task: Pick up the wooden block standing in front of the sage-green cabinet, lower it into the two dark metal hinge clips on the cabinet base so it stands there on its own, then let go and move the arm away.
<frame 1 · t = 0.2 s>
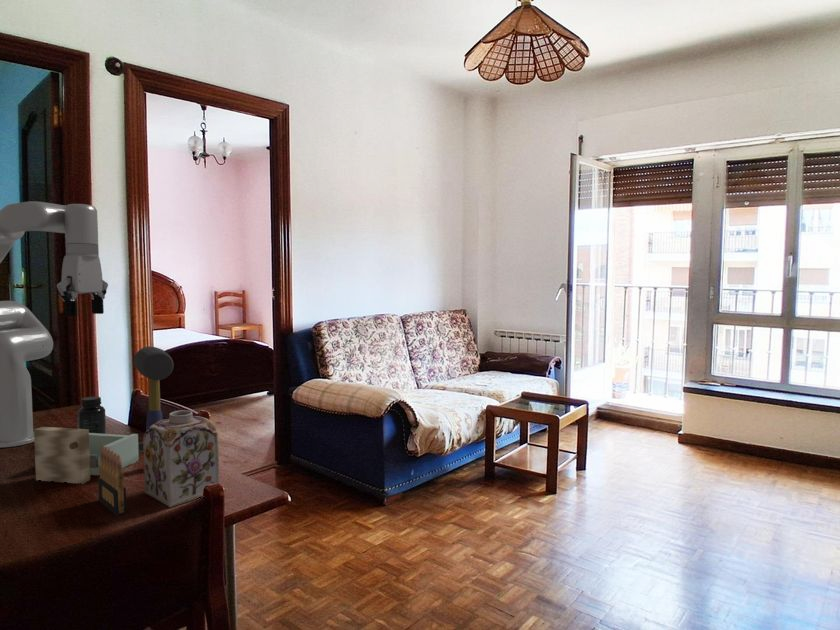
hand: (84, 314, 150), 36 cm above the table, tool pointing down, fingers open, 9 cm apart
supplement bottle: (92, 440, 160), on the table
decorative jar: (182, 494, 122), on the table
phone: (124, 453, 149), on the table
wooden block: (63, 480, 129), on the table
cabinet: (93, 465, 138), on the table
rubber mallet: (155, 468, 137), on the table
ammunition clip: (112, 507, 115), on the table
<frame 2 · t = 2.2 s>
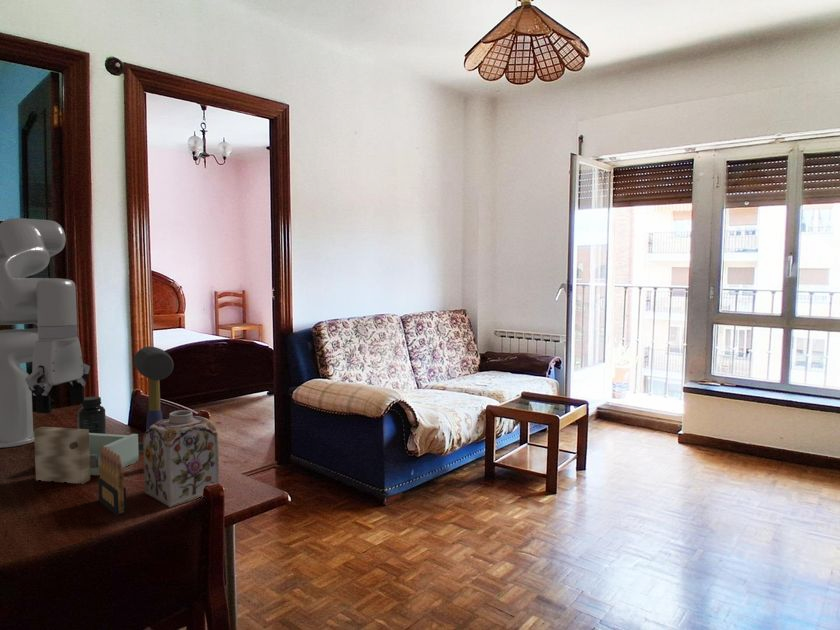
hand: (61, 407, 127), 17 cm above the table, tool pointing down, fingers open, 9 cm apart
nothing on the table moved.
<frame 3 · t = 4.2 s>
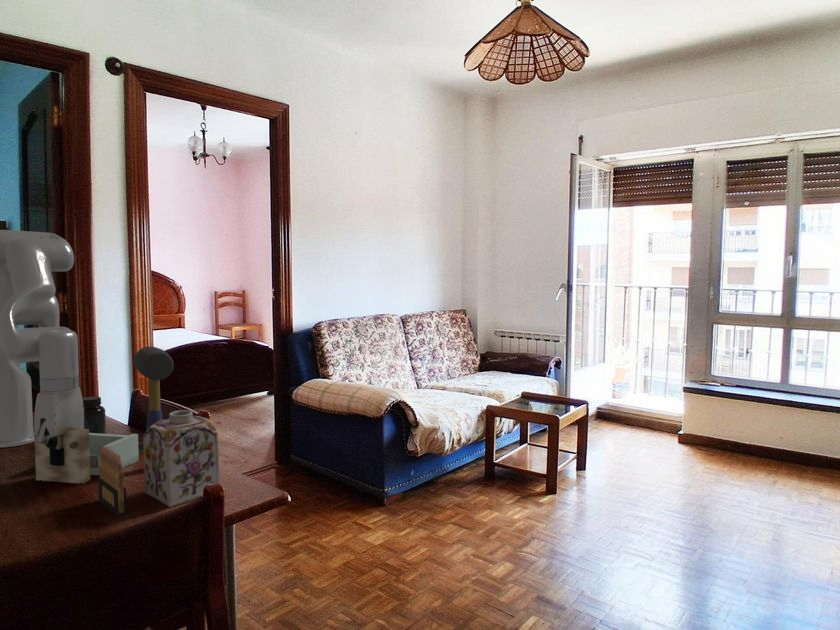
hand: (62, 462, 128), 4 cm above the table, tool pointing down, fingers closed on wooden block, 2 cm apart
wooden block: (63, 480, 129), on the table, touching gripper
everything else where it was.
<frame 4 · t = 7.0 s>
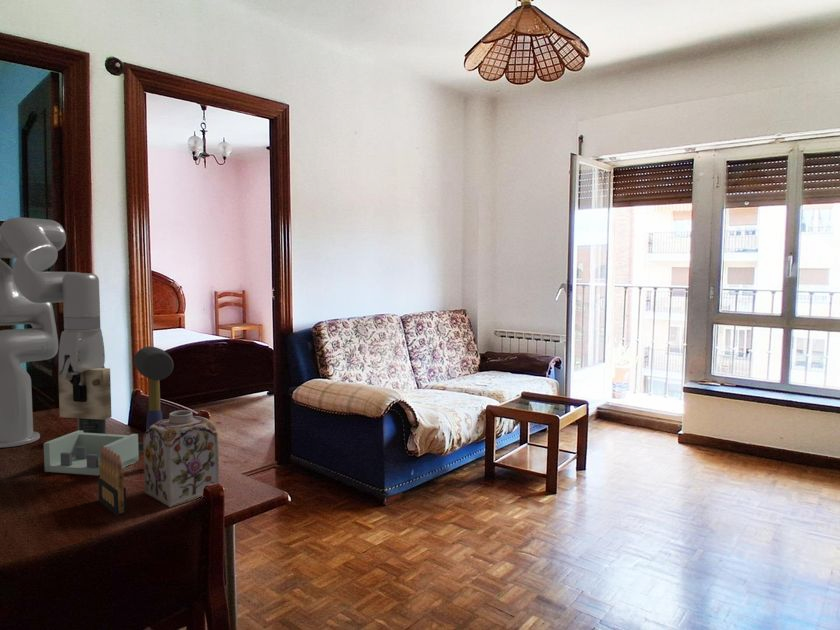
hand: (84, 399, 135), 17 cm above the table, tool pointing down, fingers closed on wooden block, 2 cm apart
wooden block: (85, 417, 135), point 13 cm above the table, touching gripper
everything else where it was.
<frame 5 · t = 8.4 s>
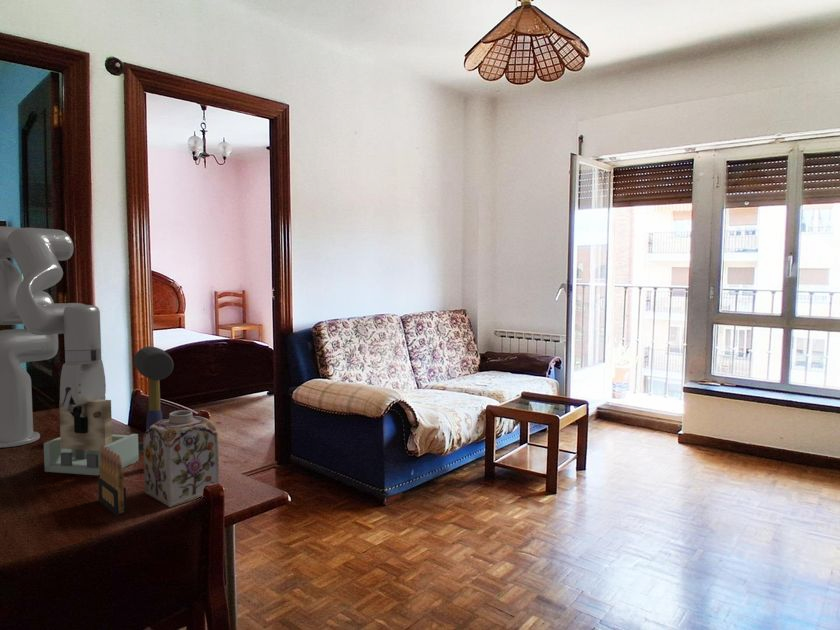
hand: (86, 430, 135), 10 cm above the table, tool pointing down, fingers closed on wooden block, 2 cm apart
wooden block: (86, 448, 136), point 5 cm above the table, touching gripper
everything else where it was.
when the fingers open (7 cm above the table, at t = 9.8 s): wooden block stays where it is, resting on cabinet.
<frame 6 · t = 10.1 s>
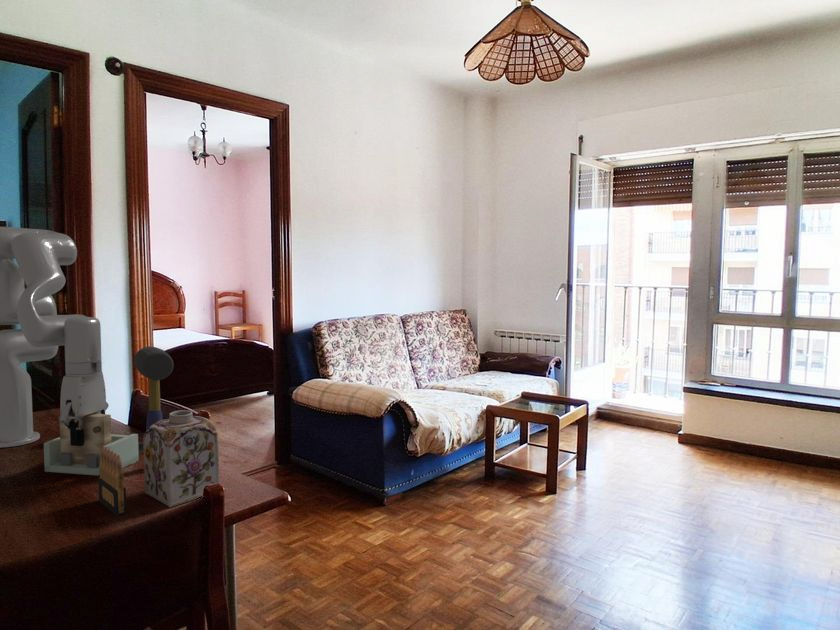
hand: (86, 441, 135), 7 cm above the table, tool pointing down, fingers open, 4 cm apart
wooden block: (86, 462, 136), point 1 cm above the table, touching cabinet
everything else where it was.
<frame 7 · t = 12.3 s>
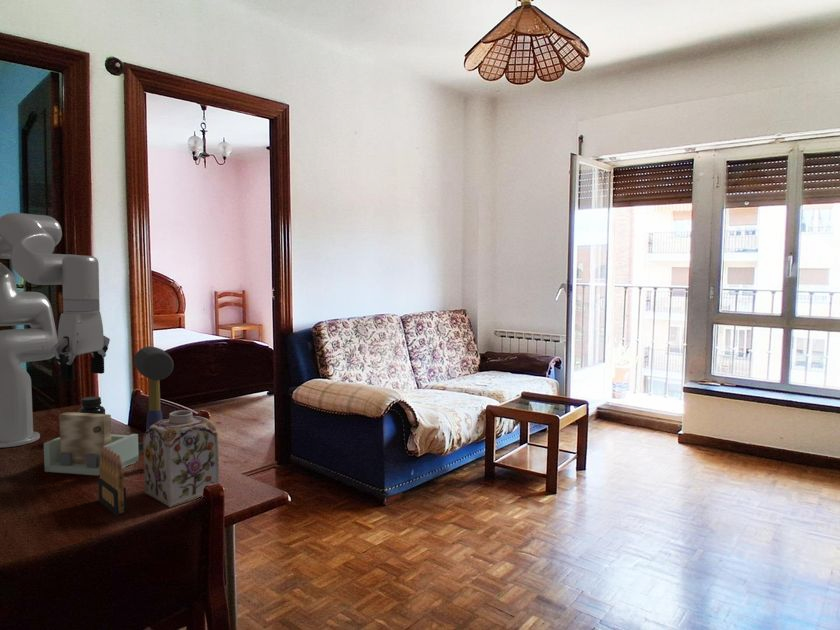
hand: (83, 376, 135), 23 cm above the table, tool pointing down, fingers open, 9 cm apart
nothing on the table moved.
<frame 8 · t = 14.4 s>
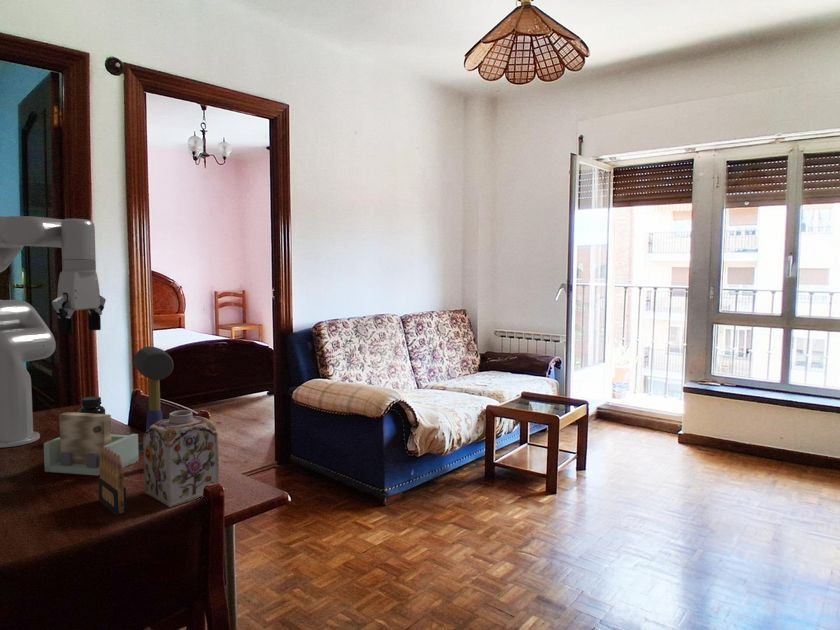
hand: (81, 331, 146), 32 cm above the table, tool pointing down, fingers open, 9 cm apart
nothing on the table moved.
at the end: wooden block 0.2 cm from the target spot on the cabinet, point 1.5 cm above the cabinet's base; wooden block tilted 0°; the gripper is holding nothing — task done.
